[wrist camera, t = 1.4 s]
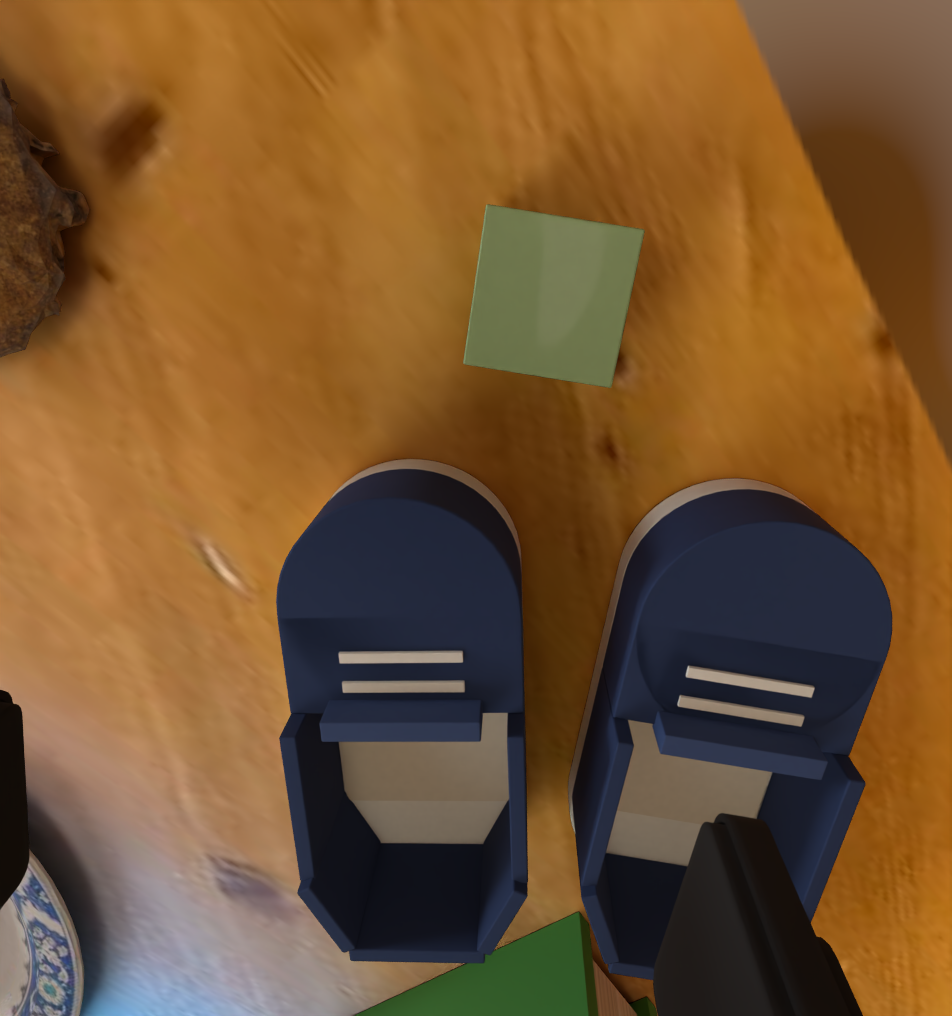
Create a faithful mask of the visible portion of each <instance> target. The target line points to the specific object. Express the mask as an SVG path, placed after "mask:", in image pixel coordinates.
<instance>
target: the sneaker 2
mask: <svg viewBox="0 0 952 1016" xmlns="http://www.w3.org/2000/svg"><path fill="white" fill-rule="evenodd" d="M891 635H892V612H891V605H890V600H889V597H888V594H887V591H886V588H885V585H884V583H883V581H882V579H881V577H880V575H879V573H878V572H877V571H876V569H875V568H874V566H873V565H872V564H871V562H870V561H869V560H868V559H867V558H866V557H865V556H864V555H863V554H862V553H861V552H860V551H859V550H858V549H857V548H856V547H855V546H853V545H852V544H851V543H850V542H849V541H848V540H847V539H845V538H844V537H843V536H842V535H841V534H840V533H838V532H837V531H836V530H835V529H834V528H833V527H831V526H830V525H829V524H828V523H827V522H826V521H824V520H823V519H822V518H821V517H820V516H819V515H817V514H816V513H815V512H814V511H813V510H812V509H810V508H809V507H808V506H807V505H806V504H805V503H803V502H802V501H801V500H799V499H798V498H797V497H795V496H794V495H793V494H791V493H789V492H787V491H785V490H783V489H781V488H779V487H776V486H774V485H771V484H768V483H765V482H760V481H756V480H749V479H739V478H735V479H719V480H712V481H707V482H703V483H700V484H696V485H693V486H691V487H688V488H686V489H683V490H681V491H679V492H677V493H675V494H673V495H672V496H670V497H668V498H667V499H665V500H664V501H662V502H661V503H660V504H658V505H657V506H656V507H654V508H653V509H652V510H651V511H650V512H649V513H648V514H647V515H646V516H645V517H644V518H643V519H642V520H641V522H640V523H639V524H638V525H637V526H636V528H635V529H634V531H633V532H632V534H631V536H630V537H629V539H628V541H627V543H626V545H625V547H624V549H623V552H622V555H621V558H620V562H619V565H618V569H617V574H616V578H615V582H614V587H613V591H612V595H611V599H610V604H609V608H608V612H607V616H606V621H605V625H604V629H603V634H602V638H601V642H600V646H599V651H598V655H597V659H596V663H595V668H594V672H593V676H592V681H591V685H590V689H589V693H588V698H587V702H586V706H585V710H584V715H583V719H582V723H581V727H580V732H579V736H578V740H577V745H576V749H575V753H574V757H573V762H572V766H571V770H570V774H569V781H568V798H569V809H570V817H571V823H572V827H573V830H574V833H575V836H576V846H577V856H578V866H579V877H580V887H581V897H582V901H583V904H584V907H585V910H586V913H587V915H588V918H589V921H590V924H591V927H592V930H593V932H594V935H595V938H596V941H597V944H598V947H599V949H600V952H601V955H602V958H603V961H604V963H605V964H608V969H609V973H613V974H619V975H625V976H631V977H637V978H643V979H649V980H653V977H654V967H655V963H656V959H657V956H658V953H659V950H660V947H661V944H662V941H663V938H664V935H665V932H666V929H667V926H668V923H669V920H670V917H671V914H672V911H673V908H674V905H675V902H676V899H677V896H678V893H679V890H680V887H681V884H682V881H683V878H684V875H685V872H686V869H687V866H688V863H689V860H690V857H691V854H692V851H693V848H694V845H695V842H696V839H697V836H698V833H699V830H700V828H701V826H702V824H703V823H704V822H712V823H714V820H715V818H716V817H717V816H718V814H720V813H726V814H732V815H738V816H743V817H749V818H755V819H761V820H763V821H764V822H766V824H767V825H768V827H769V829H770V831H771V834H772V836H773V838H774V840H775V843H776V845H777V847H778V850H779V852H780V854H781V857H782V859H783V861H784V863H785V866H786V868H787V870H788V873H789V875H790V877H791V880H792V882H793V884H794V886H795V889H796V891H797V893H798V896H799V898H800V900H801V903H802V905H803V907H804V909H805V912H806V914H807V916H808V919H809V921H810V923H811V921H812V918H813V916H814V913H815V911H816V908H817V906H818V903H819V901H820V898H821V896H822V893H823V891H824V888H825V885H826V883H827V880H828V878H829V875H830V873H831V870H832V868H833V865H834V863H835V860H836V858H837V855H838V853H839V850H840V848H841V845H842V842H843V840H844V837H845V835H846V832H847V830H848V827H849V825H850V822H851V820H852V817H853V815H854V812H855V810H856V807H857V805H858V802H859V799H860V797H861V794H862V792H863V789H864V787H865V781H864V780H863V778H862V777H861V775H860V774H859V772H858V771H857V769H856V768H855V766H854V765H853V763H852V761H851V760H850V758H849V757H848V756H849V754H850V752H851V749H852V747H853V744H854V741H855V739H856V736H857V733H858V731H859V728H860V726H861V723H862V720H863V718H864V715H865V712H866V710H867V707H868V705H869V702H870V699H871V697H872V694H873V691H874V689H875V686H876V684H877V681H878V678H879V676H880V673H881V670H882V668H883V665H884V662H885V660H886V657H887V653H888V650H889V647H890V642H891Z"/></svg>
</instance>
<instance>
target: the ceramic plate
mask: <svg viewBox="0 0 952 1016" xmlns="http://www.w3.org/2000/svg"><path fill="white" fill-rule="evenodd" d="M29 852H30V857H29V864H28V868H27V871H26V873H25V876H24V878H23V880H22V882H21V883H20V885H19V886H18V888H17V889H16V890H15V892H14V893H13V894H12V895H11V897H10V898H9V899H8V901H7V902H6V903H5V904H4V906H3V907H2V908H1V909H0V1016H79V1015H80V1011H81V1006H82V1001H83V991H84V965H83V960H82V954H81V949H80V944H79V939H78V936H77V933H76V930H75V927H74V924H73V921H72V918H71V916H70V914H69V911H68V909H67V907H66V905H65V903H64V900H63V898H62V897H61V895H60V893H59V891H58V889H57V888H56V886H55V884H54V882H53V881H52V879H51V877H50V876H49V875H48V873H47V872H46V870H45V869H44V868H43V866H42V865H41V863H40V862H39V861H38V859H37V858H36V857H35V856H34V854H33V853H32V852H31V851H30V850H29Z"/></svg>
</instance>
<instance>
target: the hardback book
mask: <svg viewBox="0 0 952 1016" xmlns="http://www.w3.org/2000/svg"><path fill="white" fill-rule="evenodd" d="M355 1016H657V1011H656V1008H655V1007H654V1005H653V1004H652V1003H651V1002H650V1000H649V999H648V998H647V997H645V998H643V999H640V1000H638V1001H636V1002H633V1003H631V1004H628V1002H627V1001H626V1000H625V999H624V998H623V996H622V995H621V994H620V993H619V991H618V990H617V989H616V988H615V986H614V985H613V984H612V983H611V981H610V980H609V979H608V978H607V976H606V975H605V974H604V973H603V972H602V970H601V969H600V968H599V967H598V965H597V964H596V963H595V962H594V960H593V957H592V948H591V938H590V929H589V924H588V922H587V921H586V920H585V919H584V917H583V916H582V915H581V914H580V912H577V913H575V914H573V915H571V916H569V917H566V918H564V919H562V920H560V921H558V922H556V923H553V924H551V925H549V926H547V927H545V928H543V929H540V930H538V931H536V932H534V933H532V934H530V935H527V936H525V937H523V938H521V939H519V940H517V941H514V942H512V943H510V944H508V945H506V946H504V947H502V948H499V949H497V950H495V951H493V952H492V954H491V955H487V954H486V955H485V962H484V963H467V964H465V965H463V966H460V967H458V968H456V969H454V970H452V971H450V972H447V973H445V974H443V975H441V976H439V977H437V978H434V979H432V980H430V981H428V982H426V983H424V984H422V985H419V986H417V987H415V988H413V989H411V990H409V991H406V992H404V993H402V994H400V995H398V996H396V997H393V998H391V999H389V1000H387V1001H385V1002H383V1003H380V1004H378V1005H376V1006H374V1007H372V1008H370V1009H367V1010H365V1011H363V1012H361V1013H359V1014H357V1015H355Z"/></svg>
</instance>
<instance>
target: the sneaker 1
mask: <svg viewBox="0 0 952 1016" xmlns="http://www.w3.org/2000/svg"><path fill="white" fill-rule="evenodd" d="M276 603H277V616H278V617H277V618H278V625H279V632H280V639H281V646H282V654H283V661H284V668H285V675H286V682H287V689H288V696H289V704H290V711H291V713H292V714H291V716H290V718H289V720H288V722H287V724H286V726H285V728H284V730H283V732H282V734H281V736H280V738H279V739H280V746H281V752H282V759H283V766H284V773H285V780H286V786H287V793H288V800H289V807H290V813H291V820H292V827H293V834H294V840H295V847H296V854H297V861H298V867H299V874H300V880H301V883H300V886H299V889H298V892H297V893H298V895H299V896H300V898H301V899H302V900H303V901H304V903H305V904H306V905H307V907H308V908H309V909H310V910H311V912H312V913H313V914H314V916H315V917H316V918H317V920H318V921H319V922H320V923H321V925H322V926H323V927H324V929H325V930H326V931H327V932H328V934H329V935H330V936H331V938H332V939H333V940H334V942H335V943H336V944H337V945H338V947H339V948H340V949H341V951H342V952H344V953H345V952H347V951H349V954H350V960H351V961H382V962H434V963H484V962H485V954H487V955H491V954H492V952H493V951H494V949H495V947H496V946H497V944H498V943H499V941H500V939H501V938H502V936H503V935H504V933H505V931H506V930H507V928H508V927H509V925H510V923H511V922H512V920H513V919H514V917H515V915H516V914H517V912H518V911H519V909H520V907H521V906H522V904H523V903H524V901H525V899H526V898H527V882H528V857H527V783H526V735H525V692H524V648H523V605H522V561H521V549H520V543H519V539H518V534H517V531H516V529H515V526H514V524H513V521H512V519H511V517H510V516H509V514H508V512H507V510H506V508H505V507H504V506H503V504H502V503H501V502H500V500H499V499H498V498H497V497H496V496H495V495H494V494H493V493H492V492H491V491H490V490H489V489H488V488H487V487H486V486H485V485H484V484H482V483H481V482H480V481H479V480H477V479H476V478H474V477H472V476H471V475H469V474H468V473H466V472H464V471H462V470H460V469H457V468H455V467H453V466H450V465H447V464H443V463H440V462H436V461H430V460H424V459H402V460H394V461H389V462H385V463H381V464H378V465H375V466H372V467H370V468H367V469H366V470H364V471H362V472H360V473H358V474H356V475H355V476H353V477H352V478H351V479H349V480H348V481H346V482H345V483H344V484H343V485H342V486H341V487H340V488H339V489H338V490H337V491H336V492H335V493H334V494H333V496H332V497H331V498H330V500H329V501H328V502H327V503H326V505H325V506H324V507H323V508H322V510H321V511H320V512H319V514H318V515H317V516H316V517H315V519H314V520H313V521H312V523H311V524H310V525H309V526H308V528H307V529H306V530H305V531H304V533H303V534H302V535H301V537H300V538H299V539H298V540H297V542H296V543H295V544H294V545H293V547H292V549H291V551H290V552H289V554H288V556H287V558H286V560H285V562H284V565H283V568H282V570H281V573H280V577H279V582H278V586H277V599H276Z"/></svg>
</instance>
